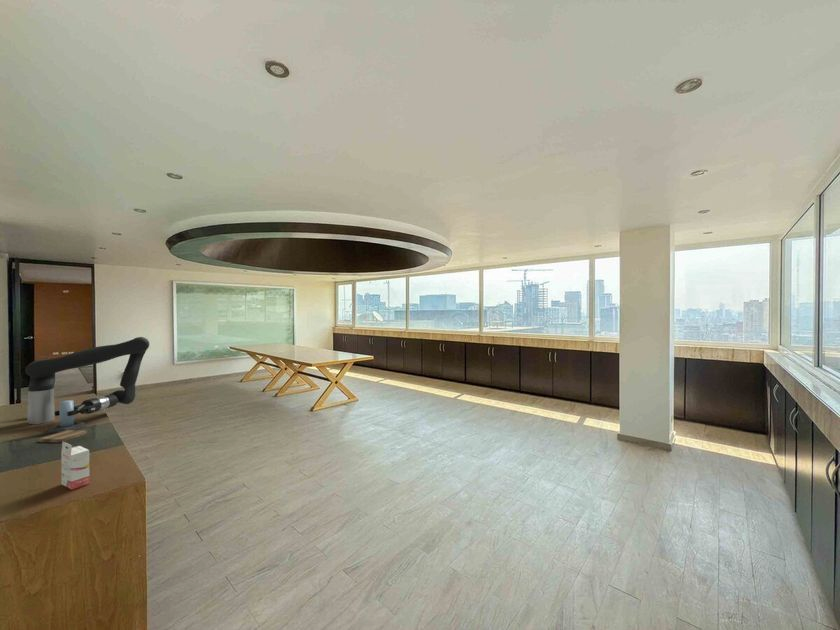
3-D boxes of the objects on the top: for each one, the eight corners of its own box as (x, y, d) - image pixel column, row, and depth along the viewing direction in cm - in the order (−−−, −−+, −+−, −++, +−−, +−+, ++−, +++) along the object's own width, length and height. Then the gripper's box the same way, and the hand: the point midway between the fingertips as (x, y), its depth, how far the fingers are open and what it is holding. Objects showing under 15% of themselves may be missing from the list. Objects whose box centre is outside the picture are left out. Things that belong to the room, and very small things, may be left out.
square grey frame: (48, 432, 167) (48, 428, 167) (68, 426, 176) (68, 422, 176) (65, 432, 167) (65, 428, 167) (84, 426, 176) (84, 422, 176)
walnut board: (39, 442, 155) (38, 438, 155) (65, 433, 166) (65, 430, 166) (61, 442, 154) (61, 439, 154) (86, 433, 165) (86, 430, 165)
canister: (56, 430, 169) (56, 402, 169) (68, 427, 174) (67, 400, 174) (66, 431, 169) (65, 402, 169) (77, 427, 174) (76, 400, 174)
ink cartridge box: (90, 483, 117) (90, 441, 117) (71, 490, 113) (70, 446, 113) (80, 478, 121) (79, 436, 121) (60, 484, 117) (60, 441, 117)
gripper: (83, 397, 186) (47, 406, 169) (108, 398, 185) (75, 406, 169) (83, 411, 186) (48, 421, 169) (108, 411, 185) (75, 421, 169)
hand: (61, 413), depth 169 cm, fingers open, 6 cm apart
